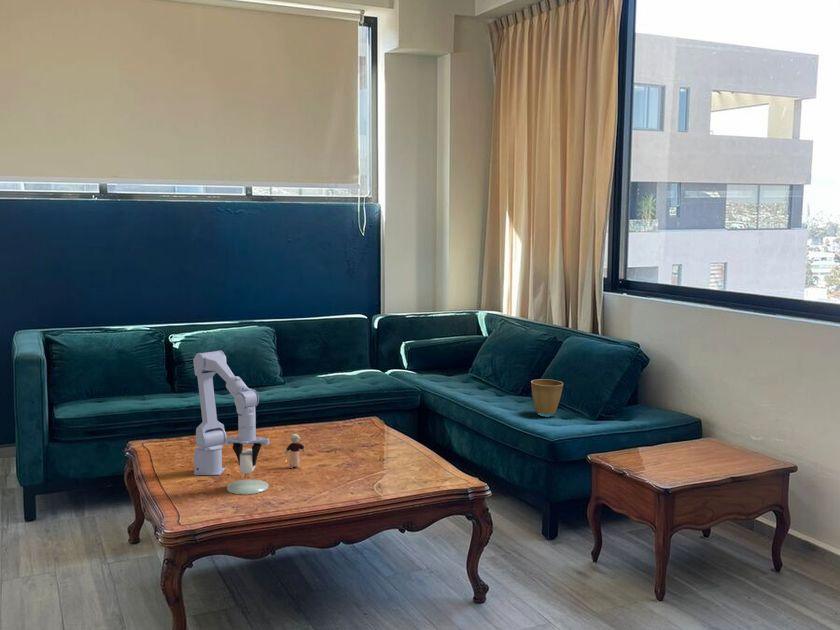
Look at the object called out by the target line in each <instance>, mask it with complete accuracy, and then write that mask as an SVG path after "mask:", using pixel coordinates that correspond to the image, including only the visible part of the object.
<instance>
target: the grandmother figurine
mask: <svg viewBox="0 0 840 630" xmlns="http://www.w3.org/2000/svg"><path fill="white" fill-rule="evenodd" d="M300 439H301V437H300V435H298V434H297V433H292V434H291V436H290V440H291V442H292V443H291V442H290V444H289V445H288V446H287V447H286V449H285V452H284V455H288V453H289V459H288V462H289V466H288V469H289V468H292V469H294V468H295V467H300V468H301V465H300V461H301V460H300V458H301V456H300V450H301V451H302V453H306V449H305V446H304V445H303V444H302V443H300V442H299V441H300ZM289 451H290V452H289ZM293 467H294V468H293Z"/></svg>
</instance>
